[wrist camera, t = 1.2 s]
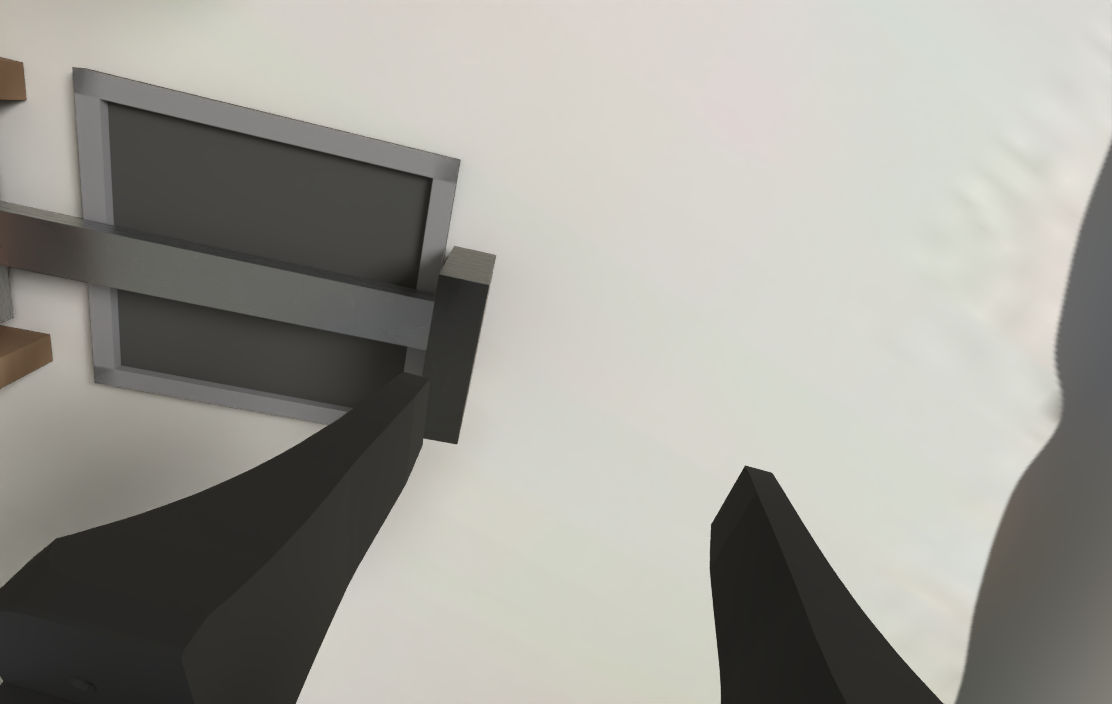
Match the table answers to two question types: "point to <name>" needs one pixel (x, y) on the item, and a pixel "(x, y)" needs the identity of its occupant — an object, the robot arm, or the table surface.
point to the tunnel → (4, 348)
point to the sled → (269, 292)
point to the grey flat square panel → (252, 242)
